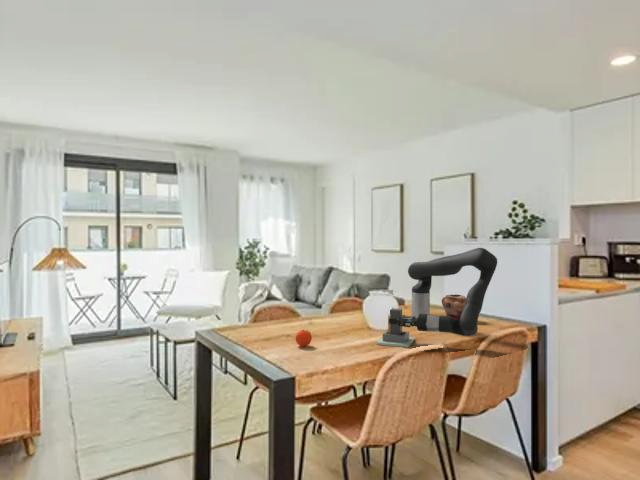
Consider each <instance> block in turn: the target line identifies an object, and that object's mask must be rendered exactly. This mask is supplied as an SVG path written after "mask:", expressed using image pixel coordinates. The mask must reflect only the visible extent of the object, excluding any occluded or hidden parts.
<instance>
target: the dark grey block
mask: <svg viewBox="0 0 640 480" xmlns="http://www.w3.org/2000/svg"><path fill="white" fill-rule="evenodd" d="M402 316H403V308H394V307H393V308H392V309H391V310H390V314H388V317H387V318H388V319H387V325H388V326H387V330H388V334H392V335H402V331H403V326H398V325H397V324H389V319H402ZM401 324H402V322H401Z"/></svg>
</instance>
